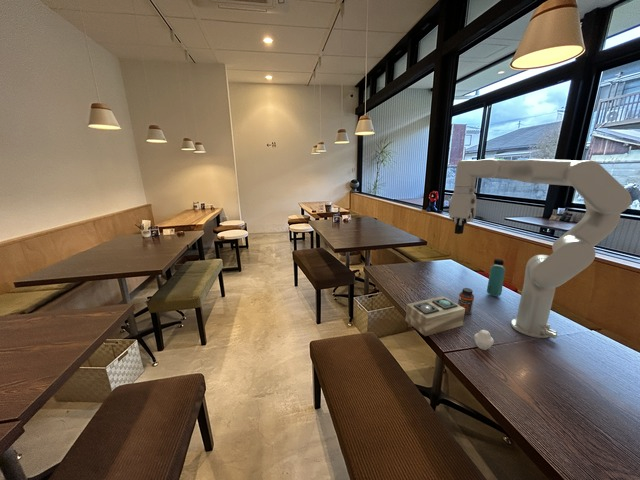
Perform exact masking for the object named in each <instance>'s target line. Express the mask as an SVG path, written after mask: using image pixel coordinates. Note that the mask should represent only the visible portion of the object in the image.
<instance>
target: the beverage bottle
mask: <svg viewBox="0 0 640 480" xmlns="http://www.w3.org/2000/svg"><path fill="white" fill-rule="evenodd" d="M504 262H505V261H504V260H503V259H501V258H495V259H494V261H493V265H491V266H490V271H489V274H488V282H487V283H488V284H487V286H486V287H487V288H486V292H487V294H488V295H490V296H494V297H500V296H501V295H502V292H503V285H504V278H505V274H506V268H505V267H504V266H503V265H504Z"/></svg>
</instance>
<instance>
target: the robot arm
mask: <svg viewBox="0 0 640 480" xmlns="http://www.w3.org/2000/svg"><path fill="white" fill-rule="evenodd" d="M478 178H479V179H487V180H488V179H496V180H497V179H498V180H499V179H500V180H511V181H518V182H522V183H527V184H541V185H542V184H543V185H555V186H567V187H568V186H569V187H573V189H575V191H576V192H577V193H578V194H579V195H580V196H581V197H582V198H583V204H584V205H585V212H584V213H585V214H584V215H583V217H582V218H581V219H580V220H579V221H578V222H577V223H576V224H574V226H573V227H571V228H570V229H568V230H567V231H566V232H565V233H564V234H563V235H561V236H560V237H558V238H557V239H556V240H555V241H554V242H553V243H552V247H551V249H552V253H551V254H550V255H547V254H535V255H534V256H532V257H531V258H529V259H528V260H527V263H526V265H525V273H524V280H523V285H522V286H523V287H522V290H521V296H520V301H519V304H518V311H517V316H516V318H513V319H512V320H511V321H510V325H511V327H512V329H514V330H515V331H517V332H519V333H520V334H523V335H526V336H527V337H528V336H529V337H531V338H536V339H546V338H549V337H550V338H552V339H554V340H555V339H557V337H558V331H556V330H555V329H552V328H551V324H550V323H548V321H549V317H550V312H551V309H552V305H553V300H554V297H555V292H556V288H559V287H560V286H562V285H563V284H565V283H567V282H568V281H569V280H571V279H572V278H574V277H576V276H577V275H578V274H580V273H581V272H582V271H584V270H585V269H587V268H588V267H589V266H590V265H591V264H592V263H593V262H594V260H595V258H596V255H597V253H596V250H595V248H594V247H595V246H597V245H598V244H600V242H602V241H603V240H604V239H606V237H607V236H609V235H610V234H611V233H612V232H613V231H614V230H615V229H616V227H617V226H618V224H619V223H620V221H621V213H623V212H625V211H626V210H627V209H629V207H630V206H631V204H632V196H631V193H630V191H628V189H626V187H624V186H623V185H622V184H621V183H620V182H619V181H618V180H617V179H616V178H614V176H612V174H611V173H610V172H609V171H608V170H607V169H605V167H603V166H602V165H601V164H600V163H599V162H596V161H594V160H589V159H586V160H585V159H584V160H577V159H576V160H574V159H573V160H571V159H546V158H544V159H543V158H529V159H520V160H519V159H515V160H514V159H512V160H511V159H495V158H485V159H478V160H477V159H464V160H459V161H458V162H457V164H456V171H455V179H454V185H453V186H454V187H453V193H452V195H451V199H450V203H449V208H448V215H449V218H450V219H451V220H453V223H454V225H455V227H454V234H455V235H460V234H461V235H462V234H464V230H465V229H464V228H465V225H466V224H467V223H473V219H475V218H476V215H477V214H476V213H477V195H476V194H475V193H476V192H477V188H476V183H477V179H478Z"/></svg>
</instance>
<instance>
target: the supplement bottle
mask: <svg viewBox="0 0 640 480" xmlns="http://www.w3.org/2000/svg"><path fill="white" fill-rule="evenodd" d="M474 300H475V295H474V294H473V289H472V288H469V287H463V288H462V290H461V292H459V296H458V301H457V304H458V305H460V306H461V307H463V308H465V314H464V315H471V314H472V312H473V308H474V307H473V306H474Z"/></svg>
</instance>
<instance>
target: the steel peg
mask: <svg viewBox="0 0 640 480" xmlns="http://www.w3.org/2000/svg"><path fill="white" fill-rule="evenodd" d="M420 308H421V309H423V310H424V311H430V310H432V307H431V306H430V305H426V304H423V305H421V307H420Z"/></svg>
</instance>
